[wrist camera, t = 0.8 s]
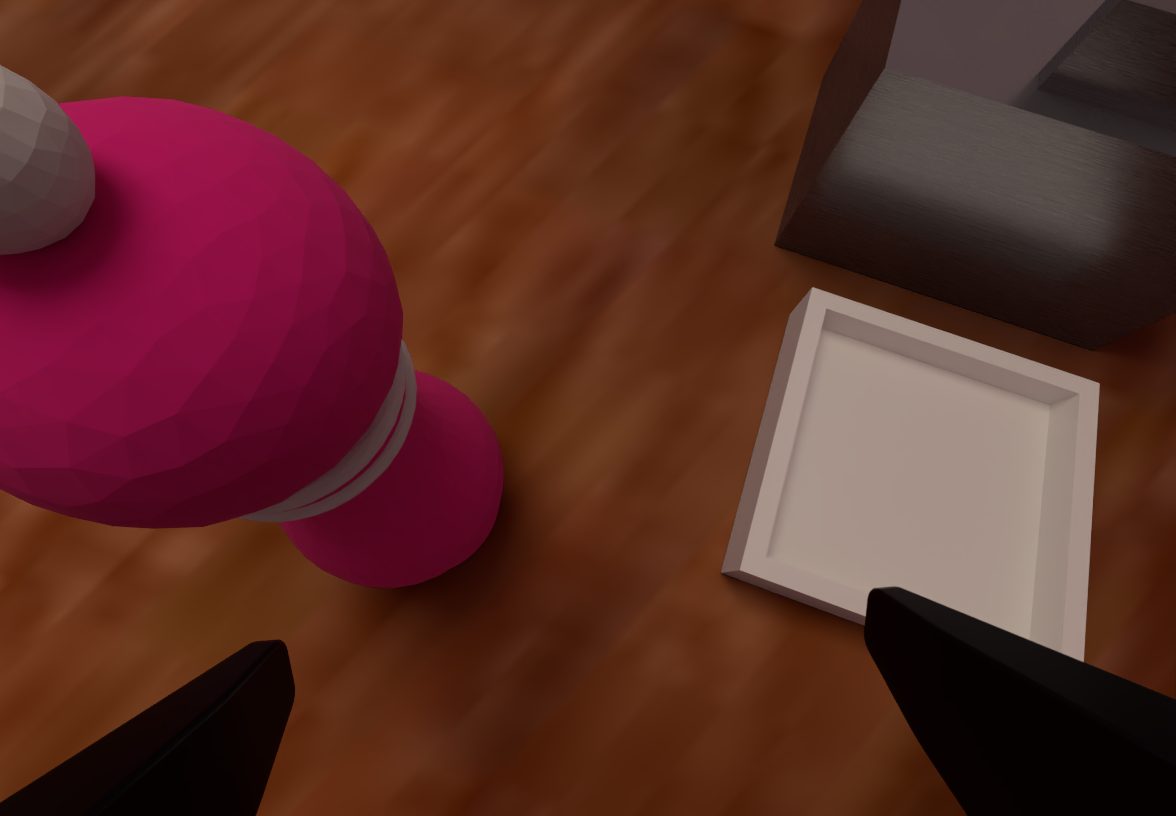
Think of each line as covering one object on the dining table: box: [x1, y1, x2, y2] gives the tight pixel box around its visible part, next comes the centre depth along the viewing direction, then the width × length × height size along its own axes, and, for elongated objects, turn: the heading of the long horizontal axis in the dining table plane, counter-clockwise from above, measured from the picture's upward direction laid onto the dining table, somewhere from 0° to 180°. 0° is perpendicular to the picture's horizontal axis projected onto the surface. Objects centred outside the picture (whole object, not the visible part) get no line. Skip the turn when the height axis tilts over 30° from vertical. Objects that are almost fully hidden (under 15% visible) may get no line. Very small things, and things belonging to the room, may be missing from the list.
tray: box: [721, 287, 1100, 662], centre depth 23 cm, size 13×13×2 cm
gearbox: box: [775, 0, 1176, 350], centre depth 23 cm, size 12×16×13 cm
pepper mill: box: [0, 65, 504, 588], centre depth 14 cm, size 7×7×20 cm
